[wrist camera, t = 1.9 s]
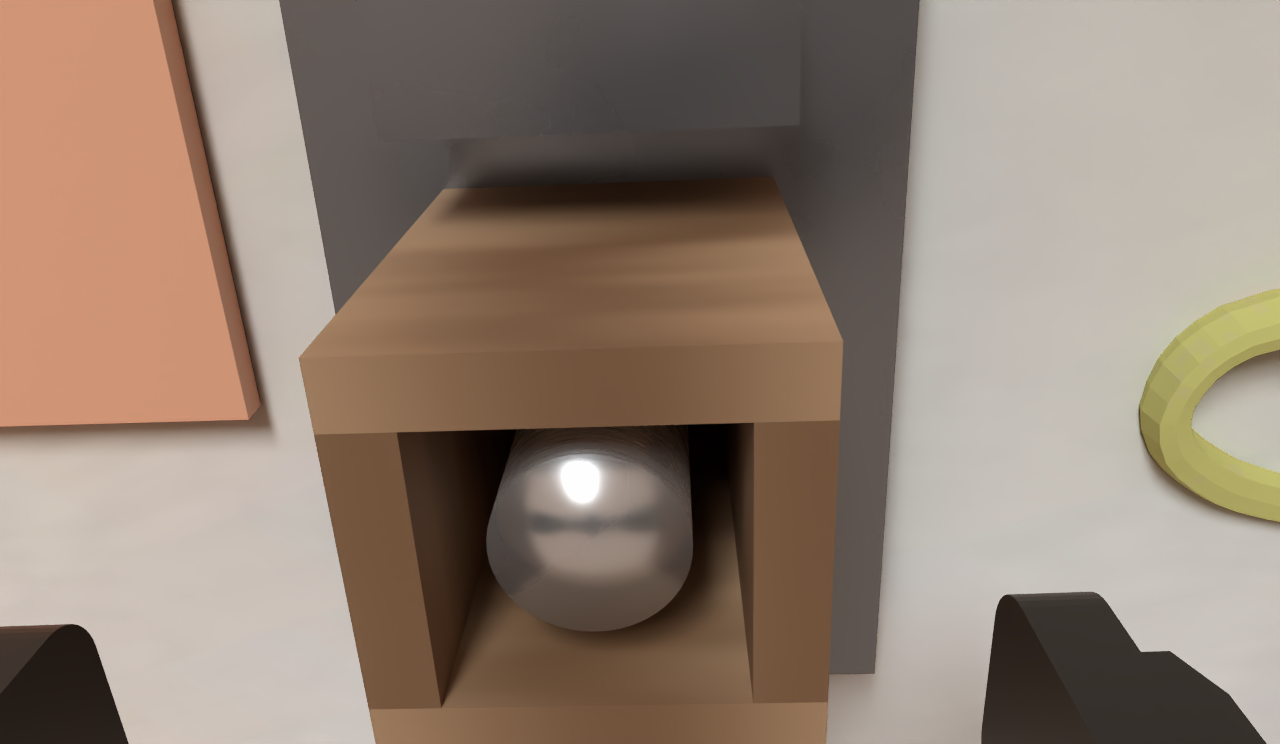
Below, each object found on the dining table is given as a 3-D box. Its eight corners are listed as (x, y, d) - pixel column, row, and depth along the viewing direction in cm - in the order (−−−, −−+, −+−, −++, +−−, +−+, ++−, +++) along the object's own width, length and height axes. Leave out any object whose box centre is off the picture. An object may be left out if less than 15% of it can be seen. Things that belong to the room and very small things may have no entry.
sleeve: (773, 176, 15) (842, 341, 9) (770, 467, 17) (825, 758, 11) (442, 189, 15) (298, 357, 9) (479, 475, 17) (379, 764, 11)
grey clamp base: (897, -159, 15) (1122, -243, 8) (855, 607, 21) (960, 982, 13) (304, -129, 15) (-33, -181, 8) (425, 615, 21) (294, 985, 14)
